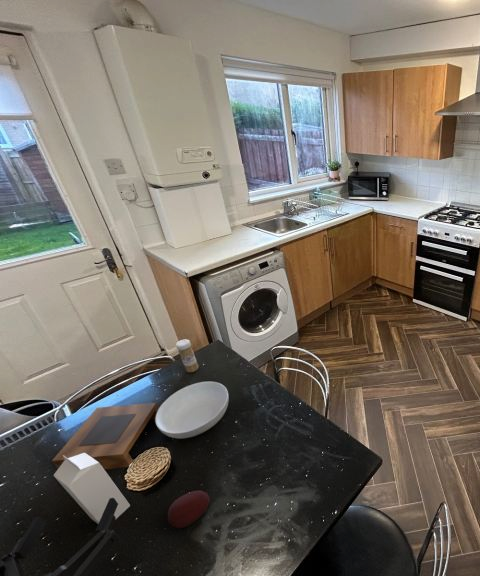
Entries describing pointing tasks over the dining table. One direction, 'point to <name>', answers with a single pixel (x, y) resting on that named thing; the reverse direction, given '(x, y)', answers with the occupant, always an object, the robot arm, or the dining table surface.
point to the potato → (188, 509)
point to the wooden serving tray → (109, 435)
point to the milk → (90, 485)
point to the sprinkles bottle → (187, 355)
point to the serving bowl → (192, 410)
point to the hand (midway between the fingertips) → (78, 510)
